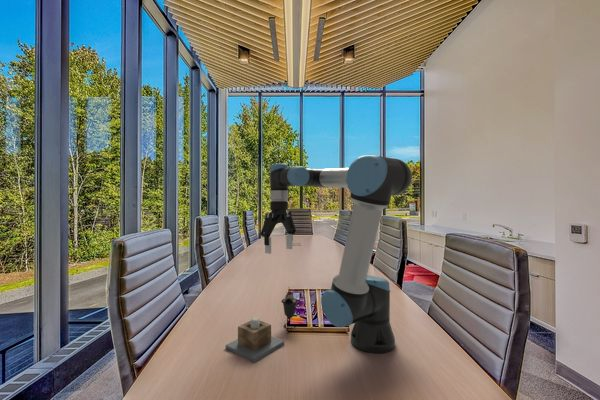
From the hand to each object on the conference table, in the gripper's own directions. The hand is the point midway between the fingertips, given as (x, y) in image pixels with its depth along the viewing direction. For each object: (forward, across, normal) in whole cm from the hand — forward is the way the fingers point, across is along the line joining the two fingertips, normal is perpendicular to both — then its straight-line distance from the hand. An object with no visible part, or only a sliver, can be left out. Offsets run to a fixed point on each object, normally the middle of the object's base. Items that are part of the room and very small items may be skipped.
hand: (279, 251), depth 125 cm
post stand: (+29, +23, +9) cm, 38 cm away
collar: (+28, +23, +9) cm, 37 cm away
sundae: (+29, +3, +8) cm, 30 cm away
